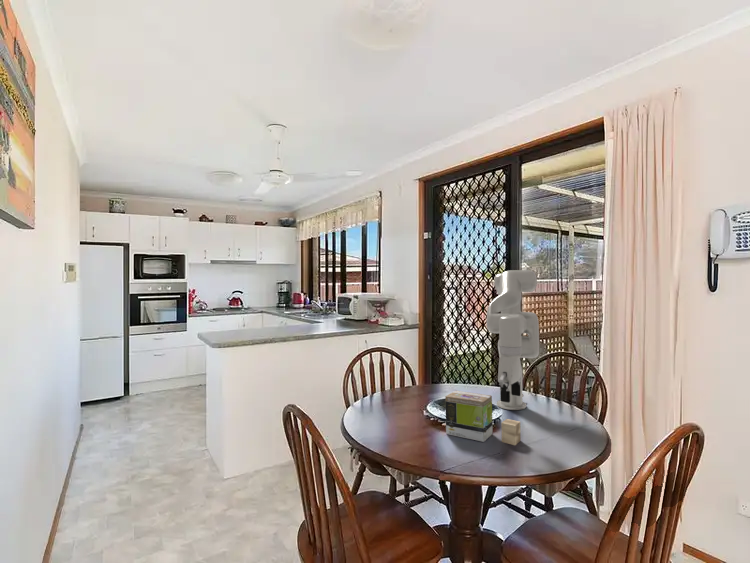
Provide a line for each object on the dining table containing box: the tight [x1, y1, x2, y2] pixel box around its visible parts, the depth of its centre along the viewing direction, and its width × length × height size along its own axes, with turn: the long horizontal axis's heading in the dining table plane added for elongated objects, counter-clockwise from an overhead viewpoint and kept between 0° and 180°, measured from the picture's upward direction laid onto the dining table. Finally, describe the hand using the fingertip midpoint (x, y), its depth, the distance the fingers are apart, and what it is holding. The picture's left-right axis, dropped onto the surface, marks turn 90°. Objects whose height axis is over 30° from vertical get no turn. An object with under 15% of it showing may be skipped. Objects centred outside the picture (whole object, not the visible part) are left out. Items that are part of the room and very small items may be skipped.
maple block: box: [500, 418, 522, 446], centre depth 152 cm, size 5×5×7 cm
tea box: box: [444, 390, 493, 443], centre depth 159 cm, size 15×10×15 cm, turn 56°
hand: (510, 398), depth 151 cm, fingers open, 9 cm apart
